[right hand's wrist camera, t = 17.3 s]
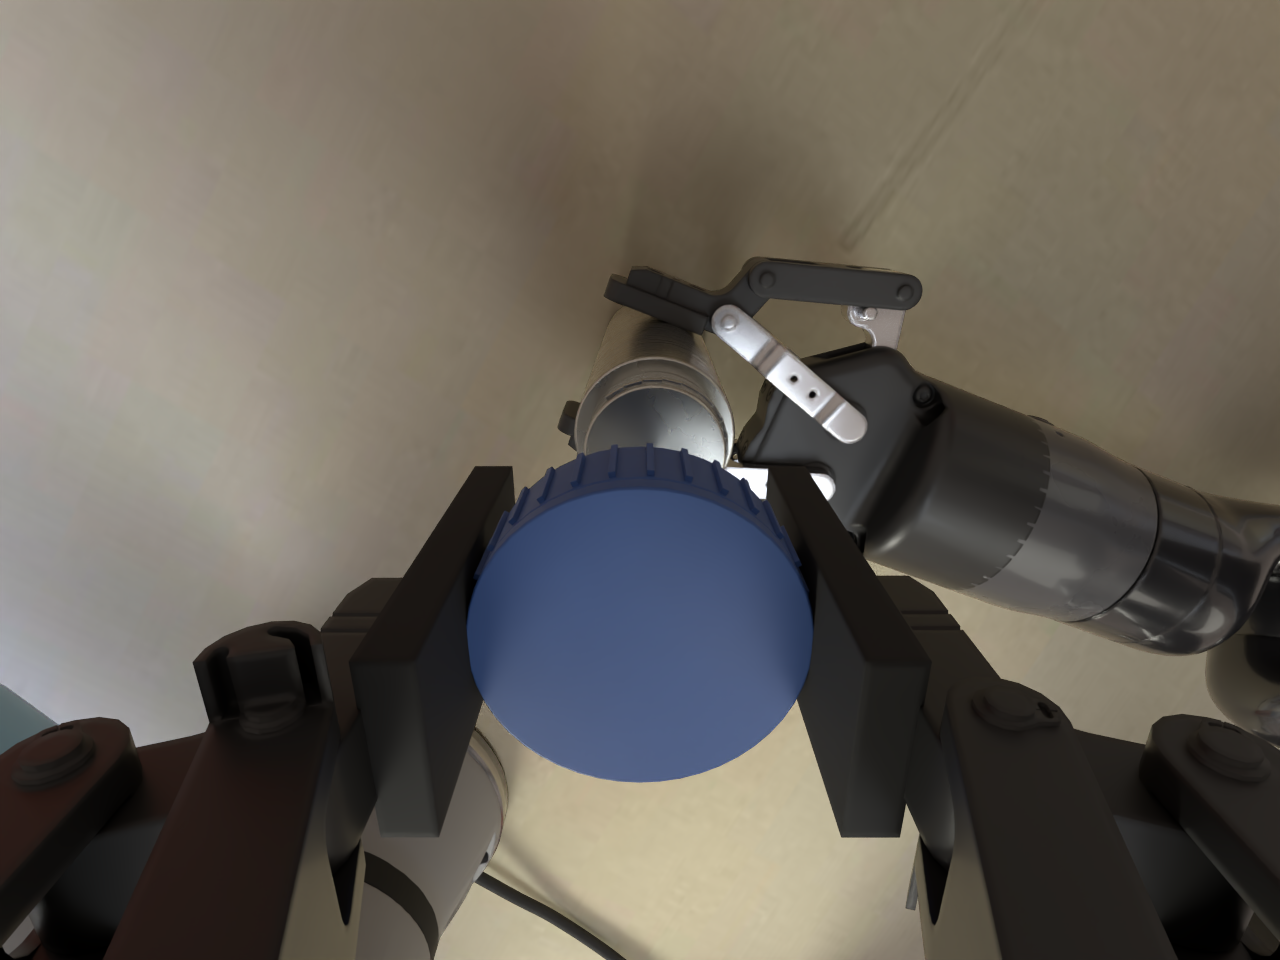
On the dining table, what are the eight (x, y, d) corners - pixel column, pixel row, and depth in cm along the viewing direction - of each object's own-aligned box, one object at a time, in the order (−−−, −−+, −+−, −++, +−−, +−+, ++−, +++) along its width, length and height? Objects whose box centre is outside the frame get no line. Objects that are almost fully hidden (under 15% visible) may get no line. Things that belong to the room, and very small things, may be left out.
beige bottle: (719, 360, 32) (773, 480, 18) (637, 410, 33) (628, 561, 19) (668, 275, 31) (684, 334, 17) (585, 330, 32) (533, 429, 18)
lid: (460, 677, 13) (433, 748, 11) (520, 403, 11) (498, 437, 9) (737, 739, 13) (752, 815, 12) (841, 487, 11) (876, 534, 10)
